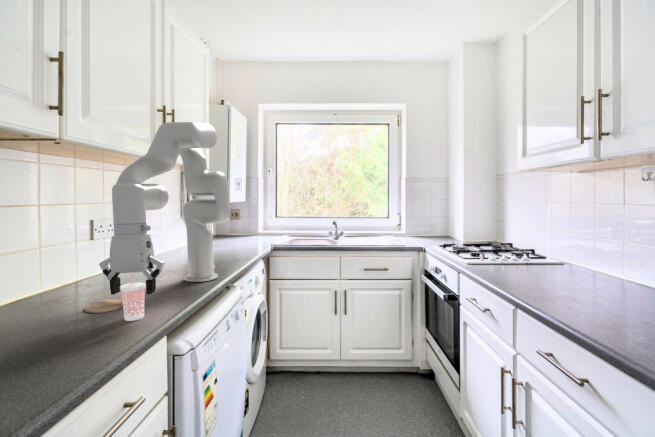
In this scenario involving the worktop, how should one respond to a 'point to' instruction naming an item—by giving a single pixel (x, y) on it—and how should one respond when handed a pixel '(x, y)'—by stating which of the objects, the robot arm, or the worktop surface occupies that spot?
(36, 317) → the worktop surface
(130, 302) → the beverage cup
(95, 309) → the plate
